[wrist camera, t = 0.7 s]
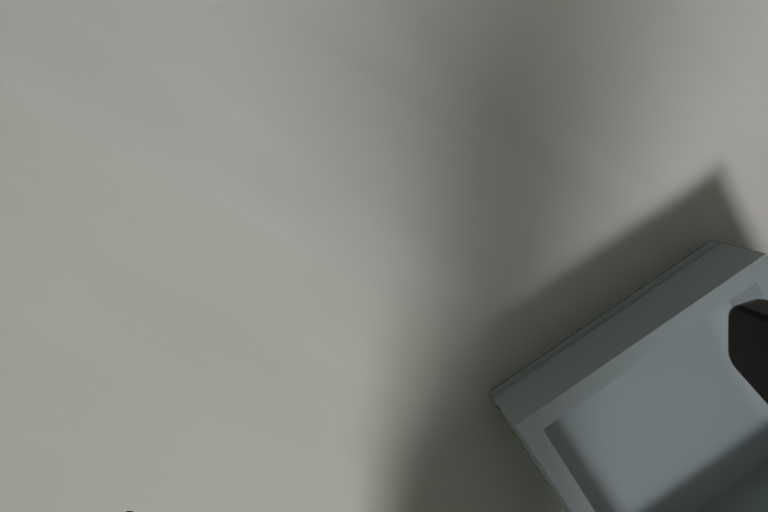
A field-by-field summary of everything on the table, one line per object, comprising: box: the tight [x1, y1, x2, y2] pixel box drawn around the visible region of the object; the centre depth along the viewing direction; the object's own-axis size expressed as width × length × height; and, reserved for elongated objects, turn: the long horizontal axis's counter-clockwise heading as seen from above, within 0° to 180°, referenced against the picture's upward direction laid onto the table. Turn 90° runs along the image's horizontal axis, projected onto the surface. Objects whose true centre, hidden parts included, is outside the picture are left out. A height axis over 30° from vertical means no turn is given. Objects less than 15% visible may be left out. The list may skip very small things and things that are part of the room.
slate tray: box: [489, 240, 768, 512], centre depth 26 cm, size 12×12×3 cm
